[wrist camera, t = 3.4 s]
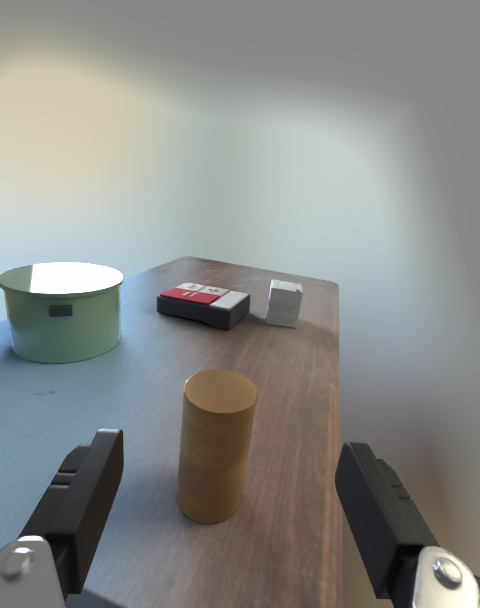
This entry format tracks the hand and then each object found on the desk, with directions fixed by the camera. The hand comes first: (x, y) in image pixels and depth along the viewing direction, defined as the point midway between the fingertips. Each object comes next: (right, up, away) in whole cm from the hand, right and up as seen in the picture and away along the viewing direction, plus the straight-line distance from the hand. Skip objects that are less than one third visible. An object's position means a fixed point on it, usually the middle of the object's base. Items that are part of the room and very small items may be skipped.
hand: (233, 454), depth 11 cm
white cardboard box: (+8, +2, +52) cm, 52 cm away
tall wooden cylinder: (-2, -10, +14) cm, 18 cm away
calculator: (-7, +4, +51) cm, 52 cm away
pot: (-25, 0, +35) cm, 43 cm away
